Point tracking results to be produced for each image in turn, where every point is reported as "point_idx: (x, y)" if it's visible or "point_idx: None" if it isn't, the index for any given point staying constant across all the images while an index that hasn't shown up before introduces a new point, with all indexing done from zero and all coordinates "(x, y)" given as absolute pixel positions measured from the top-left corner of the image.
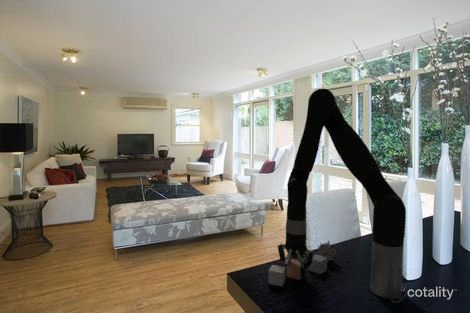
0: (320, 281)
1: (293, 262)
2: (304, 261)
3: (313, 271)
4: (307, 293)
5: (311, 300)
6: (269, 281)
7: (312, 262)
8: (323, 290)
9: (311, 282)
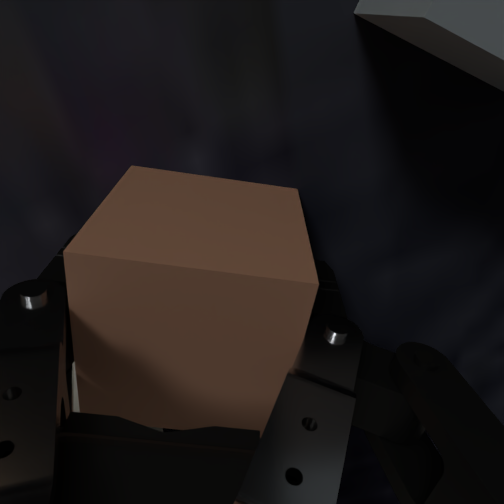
0: (483, 269)
1: (153, 361)
2: (339, 385)
3: (427, 49)
4: (355, 450)
5: (382, 495)
6: None
7: (471, 54)
8: (482, 391)
9: (387, 316)
